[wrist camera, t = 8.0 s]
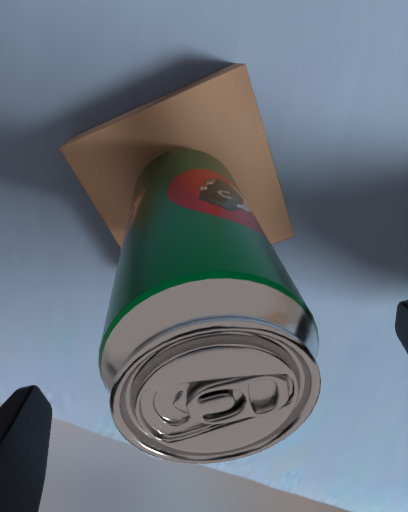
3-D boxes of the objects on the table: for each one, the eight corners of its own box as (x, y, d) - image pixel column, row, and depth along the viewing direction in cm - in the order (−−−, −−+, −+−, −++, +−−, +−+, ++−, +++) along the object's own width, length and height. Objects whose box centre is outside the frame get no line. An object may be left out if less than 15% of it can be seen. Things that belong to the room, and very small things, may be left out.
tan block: (234, 63, 17) (245, 64, 14) (281, 217, 21) (294, 235, 19) (71, 137, 18) (59, 148, 15) (149, 270, 22) (148, 293, 20)
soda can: (120, 159, 16) (42, 345, 6) (225, 135, 16) (342, 278, 6) (150, 250, 19) (134, 492, 8) (240, 229, 18) (339, 447, 8)
